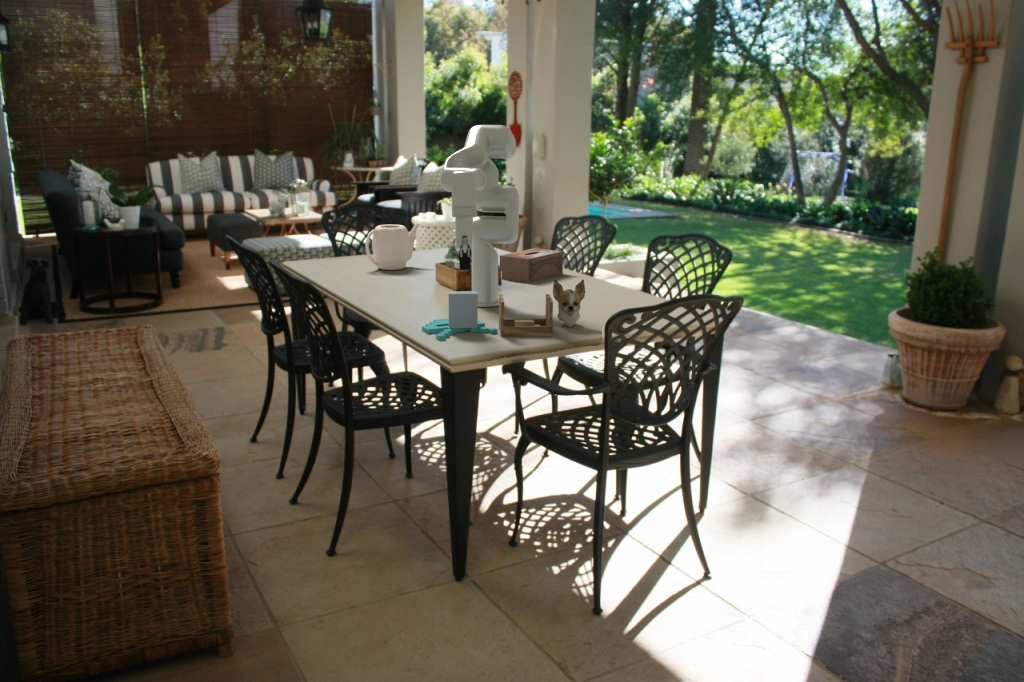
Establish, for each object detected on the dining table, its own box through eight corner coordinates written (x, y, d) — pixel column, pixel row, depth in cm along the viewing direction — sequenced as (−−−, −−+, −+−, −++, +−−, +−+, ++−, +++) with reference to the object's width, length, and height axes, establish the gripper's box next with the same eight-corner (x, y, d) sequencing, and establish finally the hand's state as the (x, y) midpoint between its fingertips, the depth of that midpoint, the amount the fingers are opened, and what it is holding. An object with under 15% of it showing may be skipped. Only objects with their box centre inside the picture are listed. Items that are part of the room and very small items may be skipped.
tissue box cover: (527, 283, 357) (528, 259, 354) (499, 279, 365) (499, 255, 363) (562, 274, 377) (563, 251, 374) (535, 270, 385) (535, 248, 383)
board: (448, 325, 280) (448, 291, 277) (476, 325, 280) (477, 291, 278) (449, 328, 276) (448, 293, 273) (477, 327, 277) (477, 293, 274)
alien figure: (497, 336, 276) (470, 322, 293) (497, 329, 276) (470, 316, 293) (438, 343, 267) (414, 328, 284) (438, 336, 267) (414, 322, 284)
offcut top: (514, 325, 276) (514, 320, 276) (533, 324, 277) (533, 320, 276) (515, 326, 274) (515, 322, 273) (534, 326, 274) (534, 321, 274)
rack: (498, 328, 282) (499, 294, 280) (548, 327, 284) (549, 294, 281) (500, 336, 272) (501, 301, 269) (552, 336, 273) (552, 301, 270)
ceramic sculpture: (554, 329, 282) (555, 283, 278) (551, 322, 290) (551, 278, 286) (587, 328, 283) (588, 282, 279) (582, 322, 291) (584, 277, 287)
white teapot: (429, 267, 389) (428, 225, 384) (374, 273, 373) (373, 229, 369) (411, 262, 401) (410, 221, 396) (358, 268, 386) (357, 225, 381)
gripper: (451, 208, 277) (452, 261, 281) (452, 215, 260) (452, 272, 265) (475, 207, 277) (475, 261, 282) (477, 215, 261) (477, 272, 265)
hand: (464, 266), depth 273 cm, fingers open, 9 cm apart
